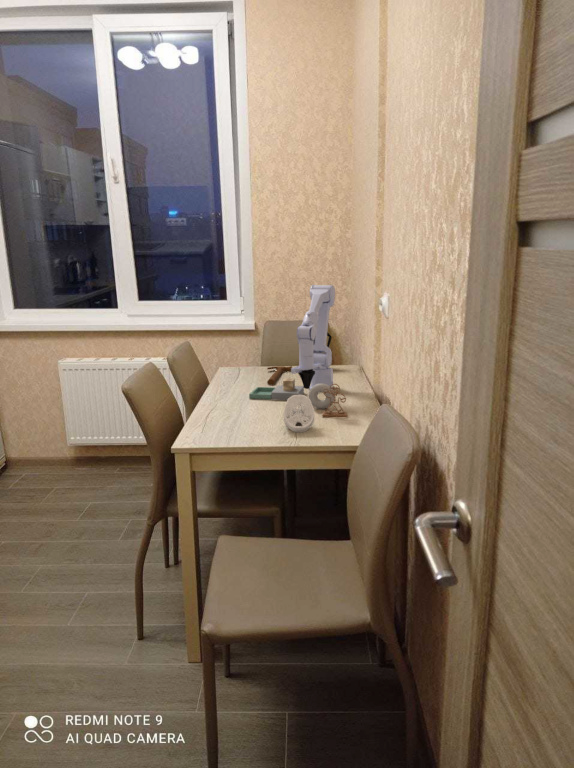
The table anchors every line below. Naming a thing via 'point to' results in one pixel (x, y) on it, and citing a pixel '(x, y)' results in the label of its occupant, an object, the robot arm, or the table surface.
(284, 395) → the slate plate
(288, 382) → the maple block
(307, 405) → the skull bowl
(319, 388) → the donut
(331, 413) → the gingerbread man figurine
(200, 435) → the table surface
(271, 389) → the box
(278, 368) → the hammer
